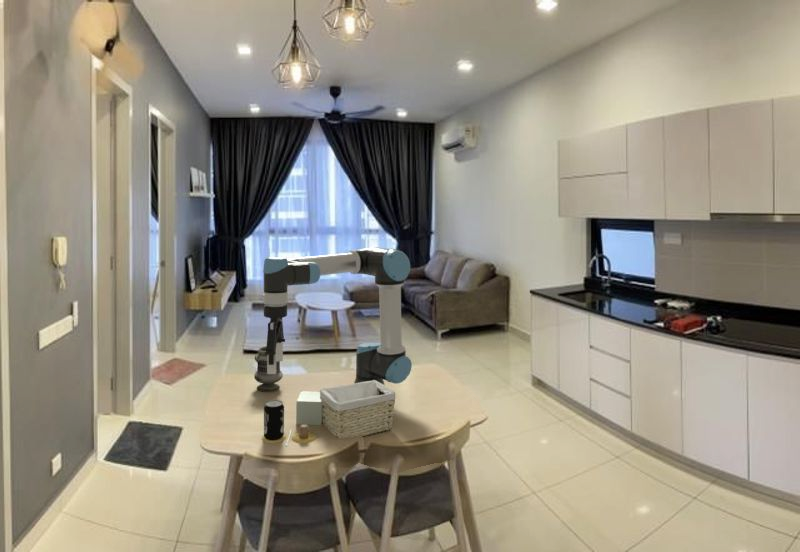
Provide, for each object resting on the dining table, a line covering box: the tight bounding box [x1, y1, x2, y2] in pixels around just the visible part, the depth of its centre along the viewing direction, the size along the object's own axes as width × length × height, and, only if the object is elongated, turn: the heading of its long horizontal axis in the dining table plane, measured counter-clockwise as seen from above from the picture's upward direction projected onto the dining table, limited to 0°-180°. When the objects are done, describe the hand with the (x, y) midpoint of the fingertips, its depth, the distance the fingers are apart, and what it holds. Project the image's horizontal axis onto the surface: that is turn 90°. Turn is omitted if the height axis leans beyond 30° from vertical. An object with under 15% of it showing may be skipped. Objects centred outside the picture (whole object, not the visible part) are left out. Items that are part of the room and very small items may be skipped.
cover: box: [295, 390, 323, 426], centre depth 182 cm, size 10×10×9 cm
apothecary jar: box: [253, 345, 283, 393], centre depth 215 cm, size 12×12×18 cm
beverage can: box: [263, 399, 285, 440], centre depth 166 cm, size 7×7×12 cm
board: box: [261, 425, 316, 447], centre depth 167 cm, size 18×13×5 cm
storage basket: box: [319, 380, 396, 440], centre depth 178 cm, size 24×16×15 cm
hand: (275, 367), depth 163 cm, fingers open, 13 cm apart
